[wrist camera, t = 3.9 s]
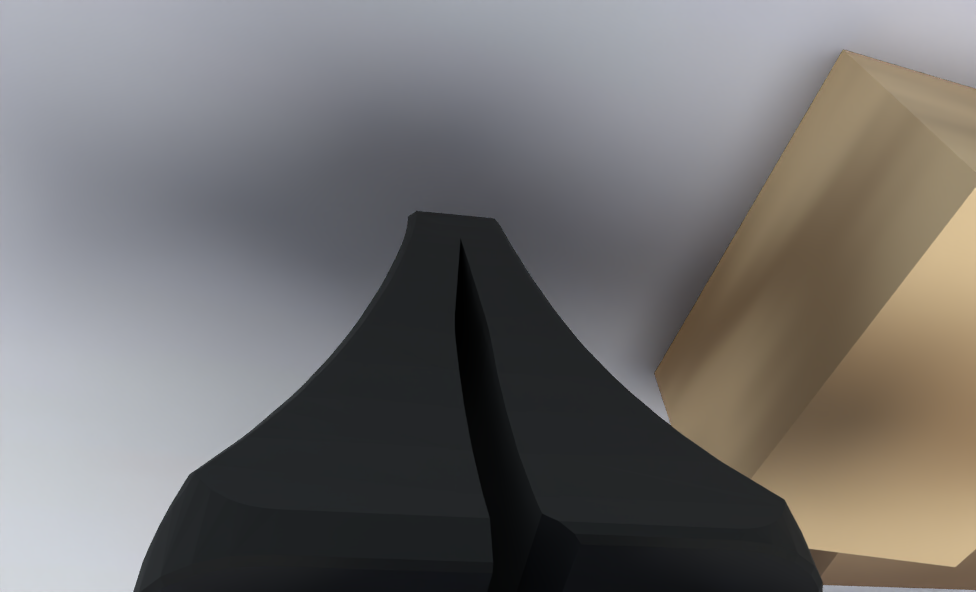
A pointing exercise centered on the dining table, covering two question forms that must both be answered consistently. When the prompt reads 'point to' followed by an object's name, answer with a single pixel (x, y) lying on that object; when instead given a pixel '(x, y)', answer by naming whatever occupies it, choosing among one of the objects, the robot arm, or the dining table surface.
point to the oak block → (850, 323)
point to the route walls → (892, 572)
